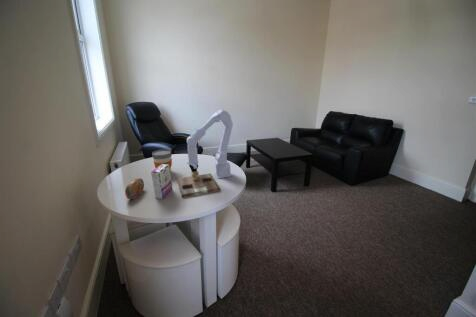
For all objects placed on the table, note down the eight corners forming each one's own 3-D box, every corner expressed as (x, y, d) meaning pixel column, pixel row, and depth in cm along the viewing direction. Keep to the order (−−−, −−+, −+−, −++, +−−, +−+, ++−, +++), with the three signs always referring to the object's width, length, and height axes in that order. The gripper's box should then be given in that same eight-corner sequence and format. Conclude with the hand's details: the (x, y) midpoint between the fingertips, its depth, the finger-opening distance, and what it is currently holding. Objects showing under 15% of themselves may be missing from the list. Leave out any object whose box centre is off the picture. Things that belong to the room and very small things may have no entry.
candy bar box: (165, 189, 130) (161, 163, 125) (172, 189, 129) (169, 164, 124) (154, 198, 120) (150, 171, 114) (163, 199, 119) (159, 172, 113)
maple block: (197, 176, 142) (197, 171, 140) (199, 179, 138) (198, 173, 137) (191, 177, 141) (191, 171, 139) (192, 180, 137) (192, 174, 136)
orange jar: (176, 169, 158) (174, 150, 153) (168, 176, 147) (165, 155, 141) (160, 168, 160) (157, 149, 155) (151, 175, 149) (148, 154, 144)
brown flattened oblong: (131, 202, 117) (128, 188, 114) (125, 201, 117) (123, 187, 114) (145, 188, 131) (143, 176, 128) (140, 188, 131) (138, 175, 128)
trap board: (210, 176, 147) (210, 173, 147) (219, 190, 128) (219, 187, 127) (177, 181, 140) (177, 178, 139) (181, 197, 121) (181, 194, 120)
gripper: (184, 152, 142) (186, 171, 147) (188, 159, 130) (189, 180, 134) (195, 151, 145) (196, 170, 149) (199, 158, 132) (201, 178, 137)
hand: (194, 174), depth 142 cm, fingers closed
